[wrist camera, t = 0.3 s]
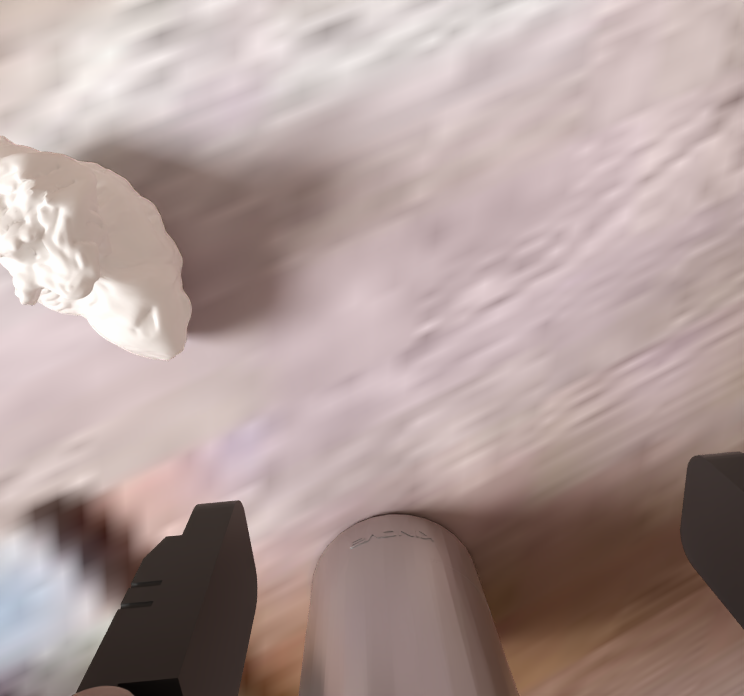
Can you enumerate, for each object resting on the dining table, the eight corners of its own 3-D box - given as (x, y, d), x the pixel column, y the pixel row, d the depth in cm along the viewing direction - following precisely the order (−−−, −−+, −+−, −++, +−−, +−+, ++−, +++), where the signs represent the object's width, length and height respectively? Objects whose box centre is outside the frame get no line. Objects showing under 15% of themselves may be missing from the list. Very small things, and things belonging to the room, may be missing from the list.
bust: (223, 317, 30) (292, 221, 21) (117, 426, 26) (141, 372, 17) (37, 154, 28) (15, -38, 18) (-106, 247, 24) (-226, 68, 15)
